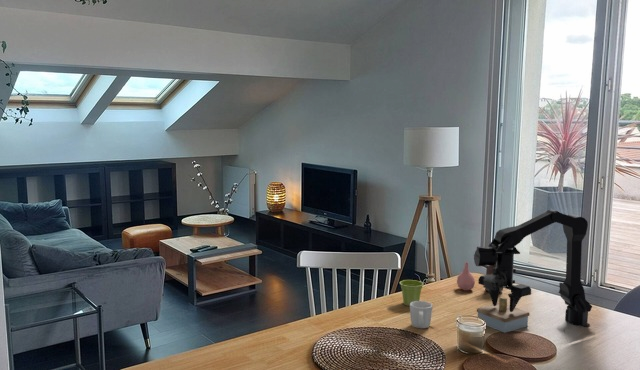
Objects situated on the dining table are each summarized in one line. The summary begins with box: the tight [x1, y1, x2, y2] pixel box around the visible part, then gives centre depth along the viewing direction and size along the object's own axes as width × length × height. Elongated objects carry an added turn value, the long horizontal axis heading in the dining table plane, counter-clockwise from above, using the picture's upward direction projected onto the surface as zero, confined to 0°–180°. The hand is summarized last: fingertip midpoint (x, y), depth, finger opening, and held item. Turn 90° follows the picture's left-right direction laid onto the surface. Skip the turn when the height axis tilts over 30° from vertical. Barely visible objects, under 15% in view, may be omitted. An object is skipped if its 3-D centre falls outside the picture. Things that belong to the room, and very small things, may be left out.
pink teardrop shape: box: [456, 262, 476, 291], centre depth 230 cm, size 8×8×12 cm
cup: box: [409, 300, 433, 329], centre depth 187 cm, size 11×8×8 cm
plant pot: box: [399, 279, 424, 307], centre depth 212 cm, size 9×9×9 cm
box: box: [477, 312, 529, 333], centre depth 188 cm, size 12×12×4 cm
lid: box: [476, 296, 530, 323], centre depth 188 cm, size 13×13×6 cm
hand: (502, 308), depth 188 cm, fingers open, 7 cm apart
